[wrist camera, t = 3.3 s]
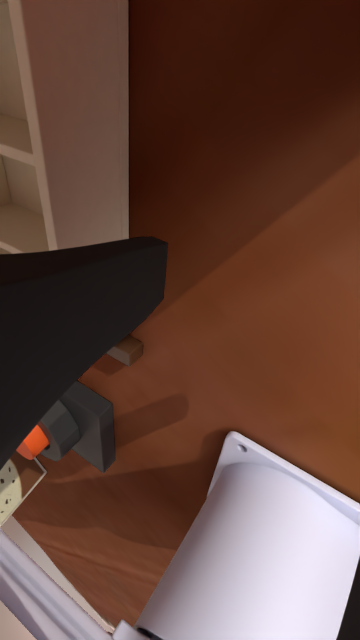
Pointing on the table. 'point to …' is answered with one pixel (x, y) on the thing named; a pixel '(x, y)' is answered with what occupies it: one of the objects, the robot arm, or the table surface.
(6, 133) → the compartment tray
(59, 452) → the button block
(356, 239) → the table surface
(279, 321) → the table surface
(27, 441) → the desk button
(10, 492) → the food container
